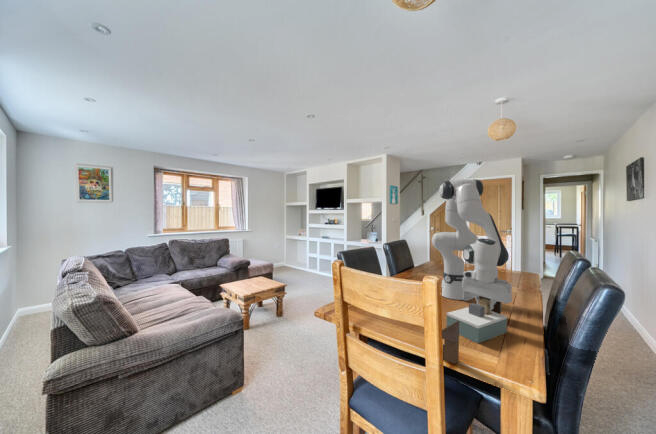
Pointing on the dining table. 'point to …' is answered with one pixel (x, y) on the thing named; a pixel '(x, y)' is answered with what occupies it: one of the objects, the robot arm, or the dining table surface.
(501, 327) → the open box
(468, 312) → the lid
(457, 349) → the wooden block
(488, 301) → the tan rectangular block
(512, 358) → the dining table surface
